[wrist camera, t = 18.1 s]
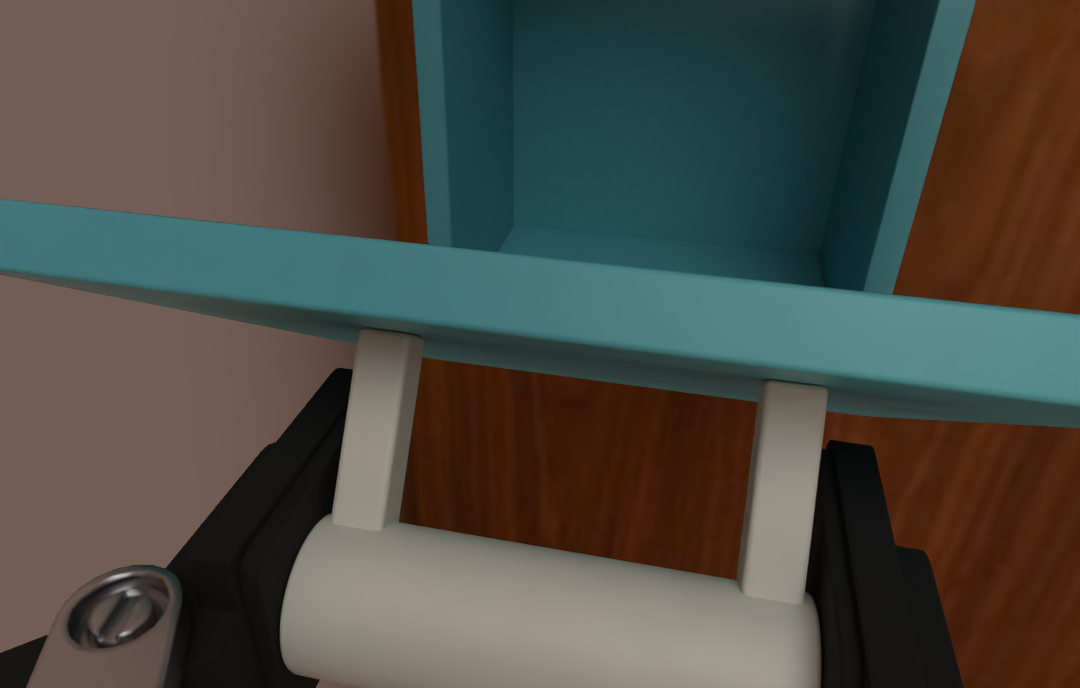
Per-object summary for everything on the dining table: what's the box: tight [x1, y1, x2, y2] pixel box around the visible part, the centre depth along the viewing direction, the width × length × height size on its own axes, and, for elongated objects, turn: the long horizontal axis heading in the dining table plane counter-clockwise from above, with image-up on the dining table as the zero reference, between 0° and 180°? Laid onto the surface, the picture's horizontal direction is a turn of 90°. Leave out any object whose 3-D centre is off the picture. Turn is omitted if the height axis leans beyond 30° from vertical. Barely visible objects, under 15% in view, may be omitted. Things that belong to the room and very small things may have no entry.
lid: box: [0, 199, 1080, 688], centre depth 16 cm, size 17×14×5 cm
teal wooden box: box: [412, 0, 976, 294], centre depth 24 cm, size 17×14×9 cm
